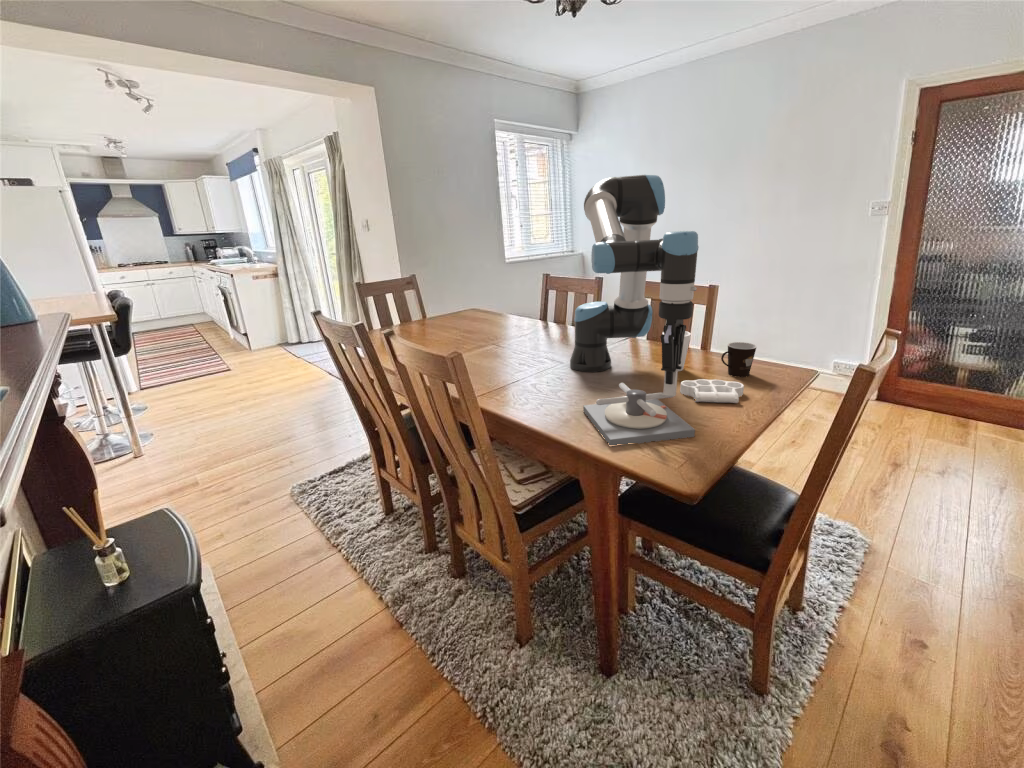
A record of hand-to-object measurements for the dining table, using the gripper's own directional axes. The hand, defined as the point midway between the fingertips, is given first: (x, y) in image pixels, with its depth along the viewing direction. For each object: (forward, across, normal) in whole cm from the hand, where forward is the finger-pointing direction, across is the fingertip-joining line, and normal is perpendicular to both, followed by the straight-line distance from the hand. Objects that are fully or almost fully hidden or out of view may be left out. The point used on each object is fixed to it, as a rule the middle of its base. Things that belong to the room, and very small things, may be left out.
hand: (669, 394), depth 115 cm
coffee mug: (+10, +53, -7) cm, 54 cm away
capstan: (+8, 0, +9) cm, 12 cm away
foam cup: (+10, +50, +13) cm, 53 cm away
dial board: (+10, 0, +9) cm, 13 cm away
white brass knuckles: (+10, +31, -4) cm, 33 cm away
